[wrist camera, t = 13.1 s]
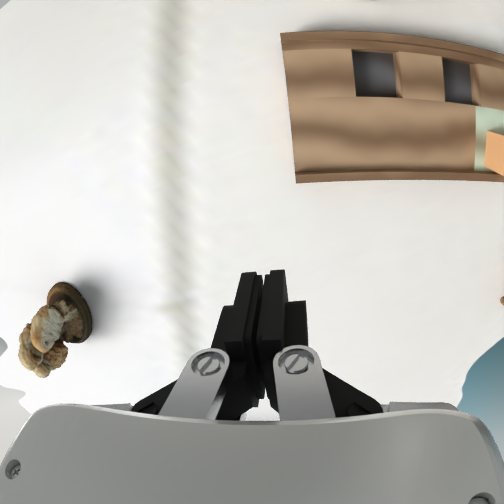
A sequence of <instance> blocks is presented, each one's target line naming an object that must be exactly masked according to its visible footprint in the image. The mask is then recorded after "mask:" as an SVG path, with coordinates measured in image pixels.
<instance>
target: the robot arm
mask: <svg viewBox="0 0 504 504" xmlns="http://www.w3.org/2000/svg"><path fill="white" fill-rule="evenodd" d="M265 387H266V392H267V397H268V399H269V400H270V405H271V407H272V408H273V409H274V410H276V411H277V412H278V413H279V416H280V421H245V420H246V411H248V410H249V409H251V408H252V407H258V404H259V399H264V395H265ZM0 504H504V462H503V459H502V457H501V454H500V452H499V449H498V446H497V444H496V442H495V440H494V438H493V436H492V434H491V432H490V431H489V429H488V428H487V427H486V425H485V424H484V423H483V422H482V421H481V420H479V419H478V418H476V417H475V416H472V415H470V414H467V413H464V412H459V411H458V410H457V408H456V407H455V406H453V405H451V404H449V403H443V402H439V403H416V402H390V403H389V405H382V404H379V403H378V402H377V401H376V400H375V399H373V398H372V397H370V396H368V395H366V394H365V393H363V392H361V391H359V390H358V389H356V388H354V387H353V386H351V385H349V384H348V383H346V382H344V381H343V380H341V379H339V378H338V377H336V376H334V375H333V374H331V373H329V372H328V371H326V370H325V369H323V368H322V366H321V362H320V359H319V356H318V354H317V352H316V351H314V350H313V349H312V348H310V347H308V328H307V312H306V300H305V301H293V302H288V294H287V285H286V277H285V270H284V269H283V270H271V271H270V274H267V275H265V280H264V285H263V279H262V275H257V273H256V272H246V273H242V274H241V278H240V281H239V285H238V289H237V293H236V297H235V301H234V305H230V306H224V307H223V309H222V312H221V315H220V319H219V322H218V325H217V329H216V332H215V335H214V339H213V342H212V345H211V348H208V349H204V350H201V351H199V352H197V353H195V354H194V355H193V356H191V358H190V359H189V360H188V362H187V364H186V366H185V367H184V369H183V371H182V373H181V375H180V376H179V378H178V380H176V381H174V382H172V383H171V384H169V385H167V386H165V387H164V388H162V389H160V390H158V391H156V392H155V393H153V394H151V395H149V396H147V397H146V398H144V399H142V400H140V401H139V402H137V403H136V404H135V405H134V406H132V405H131V404H130V403H129V404H113V405H83V404H56V405H50V406H46V407H43V408H40V409H38V410H37V411H35V412H34V413H33V414H32V415H31V416H30V417H29V418H28V420H27V421H26V422H25V424H24V425H23V427H22V428H21V429H20V431H19V432H18V434H17V436H16V437H15V439H14V441H13V442H12V444H11V446H10V448H9V450H8V451H7V453H6V455H5V457H4V459H3V461H2V463H1V465H0Z"/></svg>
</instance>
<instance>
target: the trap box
mask: <svg viewBox="0 0 504 504" xmlns="http://www.w3.org/2000/svg"><path fill="white" fill-rule="evenodd" d="M280 36H281V43H282V51H283V59H284V67H285V75H286V83H287V92H288V101H289V111H290V120H291V131H292V141H293V152H294V164H295V176H296V183H311V182H332V181H359V180H467V181H492V182H504V176H502V175H500V174H498V173H497V172H495V171H493V170H491V169H489V168H487V167H485V166H484V158H485V149H486V139H487V131H490V132H494V133H498V134H502V135H504V55H503V54H499V53H496V52H492V51H488V50H485V49H481V48H477V47H472V46H468V45H464V44H459V43H454V42H449V41H443V40H438V39H432V38H425V37H418V36H410V35H402V34H391V33H379V32H361V31H306V32H288V33H280Z"/></svg>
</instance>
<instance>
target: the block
mask: <svg viewBox="0 0 504 504" xmlns="http://www.w3.org/2000/svg"><path fill="white" fill-rule="evenodd" d="M484 166H485V167H487V168H489V169H491V170H493V171H495V172H497V173H498V174H500V175H502V176H504V135H502V134H498V133H494V132H490V131H487V139H486V149H485V158H484Z"/></svg>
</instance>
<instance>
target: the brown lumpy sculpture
mask: <svg viewBox="0 0 504 504" xmlns="http://www.w3.org/2000/svg"><path fill="white" fill-rule="evenodd" d="M91 330H92V319H91V313H90V310H89V307H88V305H87V303H86V301H85V300H84V299H83V298H82V297H81V294H80V293H79V292H78V291H77V290H76V289H75V288H73V287H72V286H70V285H68V284H66V283H57V284H55V285H54V286H53V287H52V288H51V289H50V291H49V293H48V296H47V305H45V306H43V307H41V308H40V309H39V311H38V312H37V314H36V315H35V316H34V317H33V319H32V322H31V324H29V323H28V324H27V325H26V327H25V328H24V329H23V332H22V333H21V335H20V337H19V342H20V349H19V355H18V357H19V359H20V362H21V363H22V365H23V366H24V367H25V368H26V369H28V370H31V371H32V370H33V372H35V374H36V375H37V376H39V377H42V378H45V377H47V376H48V375H49V373H50V371H51V370H55V369H56V368H59V367H61V365H62V364H63V363H64V362H65V361H66V360H65V359H66V357H67V354H68V351H67V350H68V348H67V347H66V346H65V345H64V344H63V341H65V342H67V343H69V342H70V343H82V342H84V341H85V340H86V339H87V338H88V337H89V335H90V333H91Z"/></svg>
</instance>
